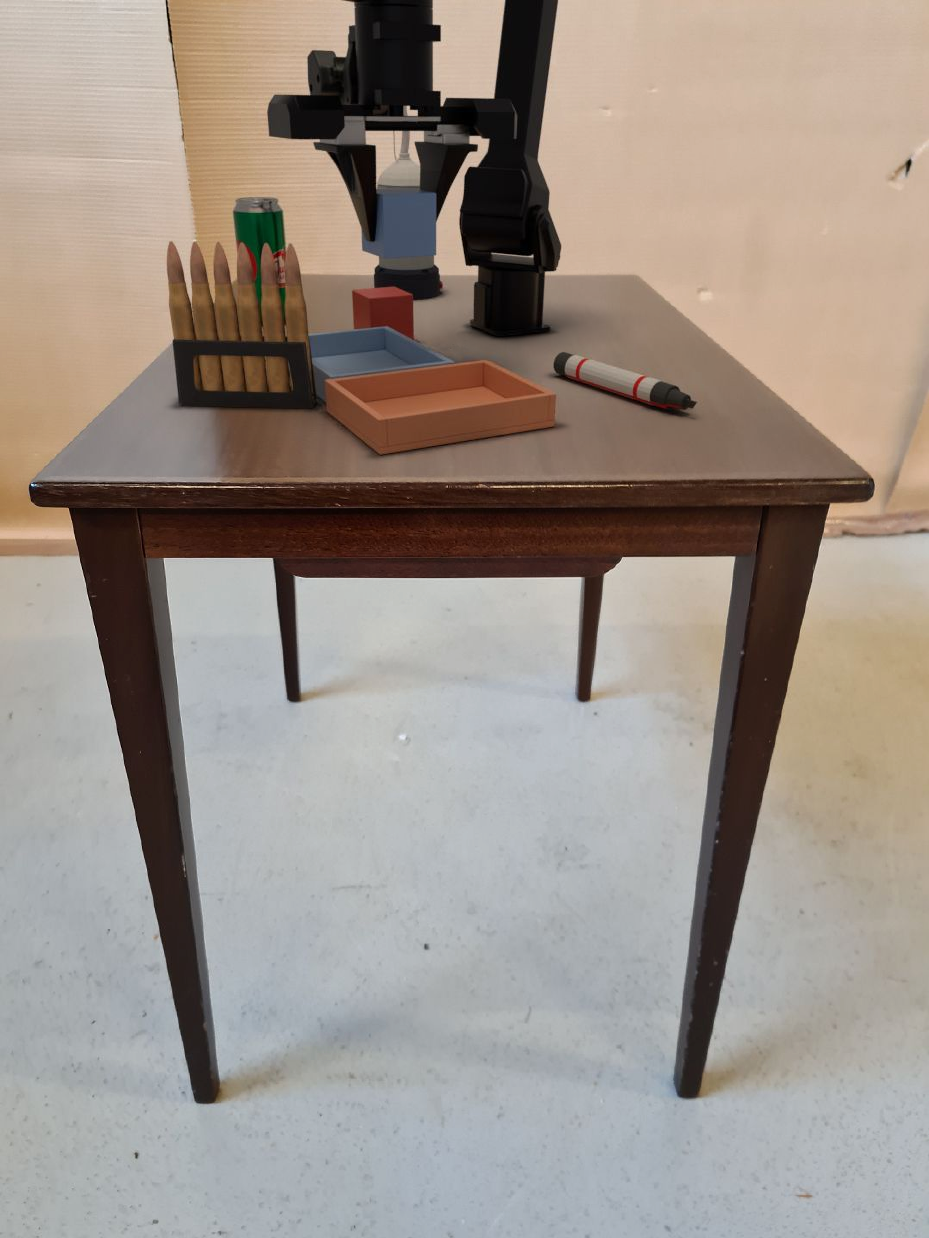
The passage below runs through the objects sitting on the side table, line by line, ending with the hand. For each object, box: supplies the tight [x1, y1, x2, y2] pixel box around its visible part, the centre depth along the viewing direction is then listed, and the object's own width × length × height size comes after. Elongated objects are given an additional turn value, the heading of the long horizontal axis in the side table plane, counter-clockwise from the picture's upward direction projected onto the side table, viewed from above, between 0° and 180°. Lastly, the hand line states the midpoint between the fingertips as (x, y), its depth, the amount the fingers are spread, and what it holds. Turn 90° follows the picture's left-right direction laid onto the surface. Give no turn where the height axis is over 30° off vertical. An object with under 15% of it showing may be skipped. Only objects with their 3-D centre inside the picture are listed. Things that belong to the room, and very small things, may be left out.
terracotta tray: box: [325, 359, 557, 455], centre depth 68 cm, size 14×11×2 cm
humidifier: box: [373, 106, 443, 301], centre depth 105 cm, size 8×8×25 cm
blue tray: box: [286, 326, 456, 403], centre depth 78 cm, size 11×14×2 cm
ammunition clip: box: [166, 240, 318, 409], centre depth 69 cm, size 11×2×12 cm, turn 88°
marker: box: [552, 351, 698, 411], centre depth 74 cm, size 15×2×2 cm, turn 37°
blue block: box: [360, 188, 437, 259], centre depth 73 cm, size 5×5×5 cm
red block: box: [351, 287, 415, 341], centre depth 89 cm, size 5×5×5 cm
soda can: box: [232, 196, 287, 326], centre depth 94 cm, size 5×5×12 cm
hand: (398, 239), depth 73 cm, fingers closed on blue block, 4 cm apart
